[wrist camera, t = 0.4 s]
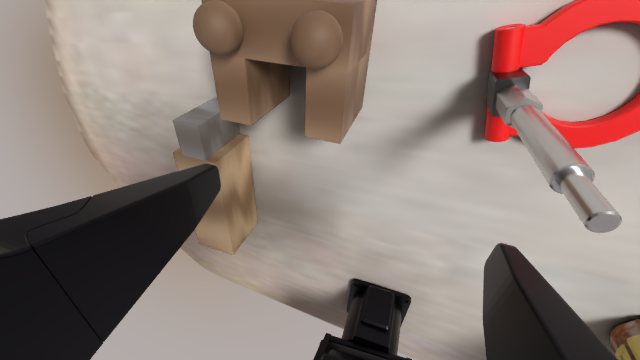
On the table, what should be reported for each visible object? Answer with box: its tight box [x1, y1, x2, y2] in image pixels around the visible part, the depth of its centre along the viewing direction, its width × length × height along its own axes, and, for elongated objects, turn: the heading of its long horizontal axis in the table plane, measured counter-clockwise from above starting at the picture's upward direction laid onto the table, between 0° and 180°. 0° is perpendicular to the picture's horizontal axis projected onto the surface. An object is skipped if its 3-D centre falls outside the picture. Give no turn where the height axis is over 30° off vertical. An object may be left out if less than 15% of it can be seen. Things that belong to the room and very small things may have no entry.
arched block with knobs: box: [193, 0, 377, 144], centre depth 17 cm, size 7×8×8 cm
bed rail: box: [173, 98, 258, 255], centre depth 27 cm, size 14×4×5 cm, turn 178°
